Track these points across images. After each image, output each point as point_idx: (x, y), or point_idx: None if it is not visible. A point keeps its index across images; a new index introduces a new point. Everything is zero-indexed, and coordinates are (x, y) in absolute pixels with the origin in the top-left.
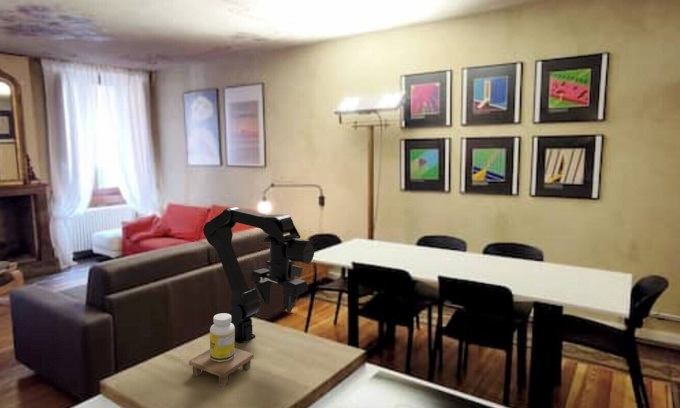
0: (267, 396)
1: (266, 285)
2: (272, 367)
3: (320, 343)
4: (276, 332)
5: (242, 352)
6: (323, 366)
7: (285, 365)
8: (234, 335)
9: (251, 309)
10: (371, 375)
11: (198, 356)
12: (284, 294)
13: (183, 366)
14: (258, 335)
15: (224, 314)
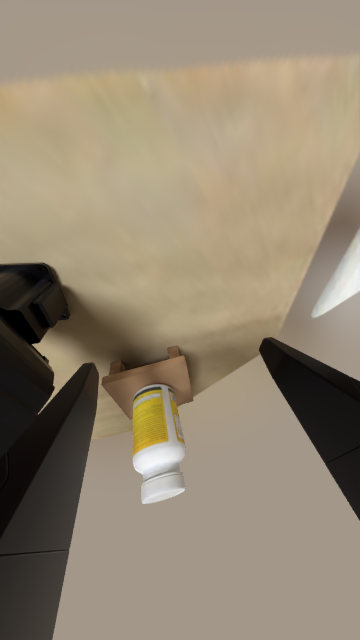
0: (241, 358)
1: (2, 638)
2: (204, 321)
3: (241, 119)
4: (42, 170)
5: (165, 371)
6: (289, 251)
7: (220, 302)
8: (176, 427)
9: (31, 375)
10: None
11: (126, 411)
12: (356, 513)
13: (102, 399)
14: (38, 247)
15: (157, 497)
